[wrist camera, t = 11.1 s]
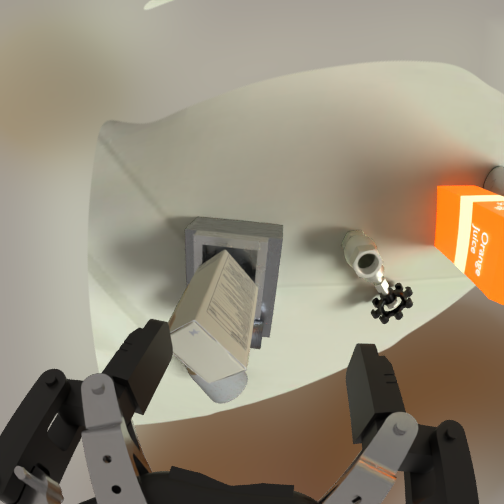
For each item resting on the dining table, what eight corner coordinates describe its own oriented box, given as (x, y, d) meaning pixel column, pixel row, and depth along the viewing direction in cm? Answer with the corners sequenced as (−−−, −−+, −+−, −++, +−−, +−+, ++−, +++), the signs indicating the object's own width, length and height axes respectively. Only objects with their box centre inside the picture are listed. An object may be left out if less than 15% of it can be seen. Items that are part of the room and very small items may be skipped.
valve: (326, 244, 35) (368, 304, 38) (334, 267, 29) (379, 332, 32) (366, 215, 33) (404, 280, 35) (383, 232, 27) (421, 305, 29)
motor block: (282, 225, 34) (282, 252, 26) (271, 315, 40) (267, 356, 32) (197, 216, 35) (173, 240, 27) (199, 305, 41) (181, 342, 33)
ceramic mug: (224, 334, 43) (212, 369, 36) (251, 366, 45) (244, 400, 38) (178, 352, 46) (163, 382, 39) (205, 379, 48) (195, 410, 41)
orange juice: (475, 185, 28) (575, 233, 10) (471, 241, 31) (552, 313, 13) (436, 185, 29) (541, 240, 11) (433, 246, 33) (514, 331, 15)
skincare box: (196, 267, 31) (153, 337, 19) (226, 247, 29) (191, 316, 18) (232, 307, 32) (208, 386, 21) (261, 290, 31) (248, 372, 20)
